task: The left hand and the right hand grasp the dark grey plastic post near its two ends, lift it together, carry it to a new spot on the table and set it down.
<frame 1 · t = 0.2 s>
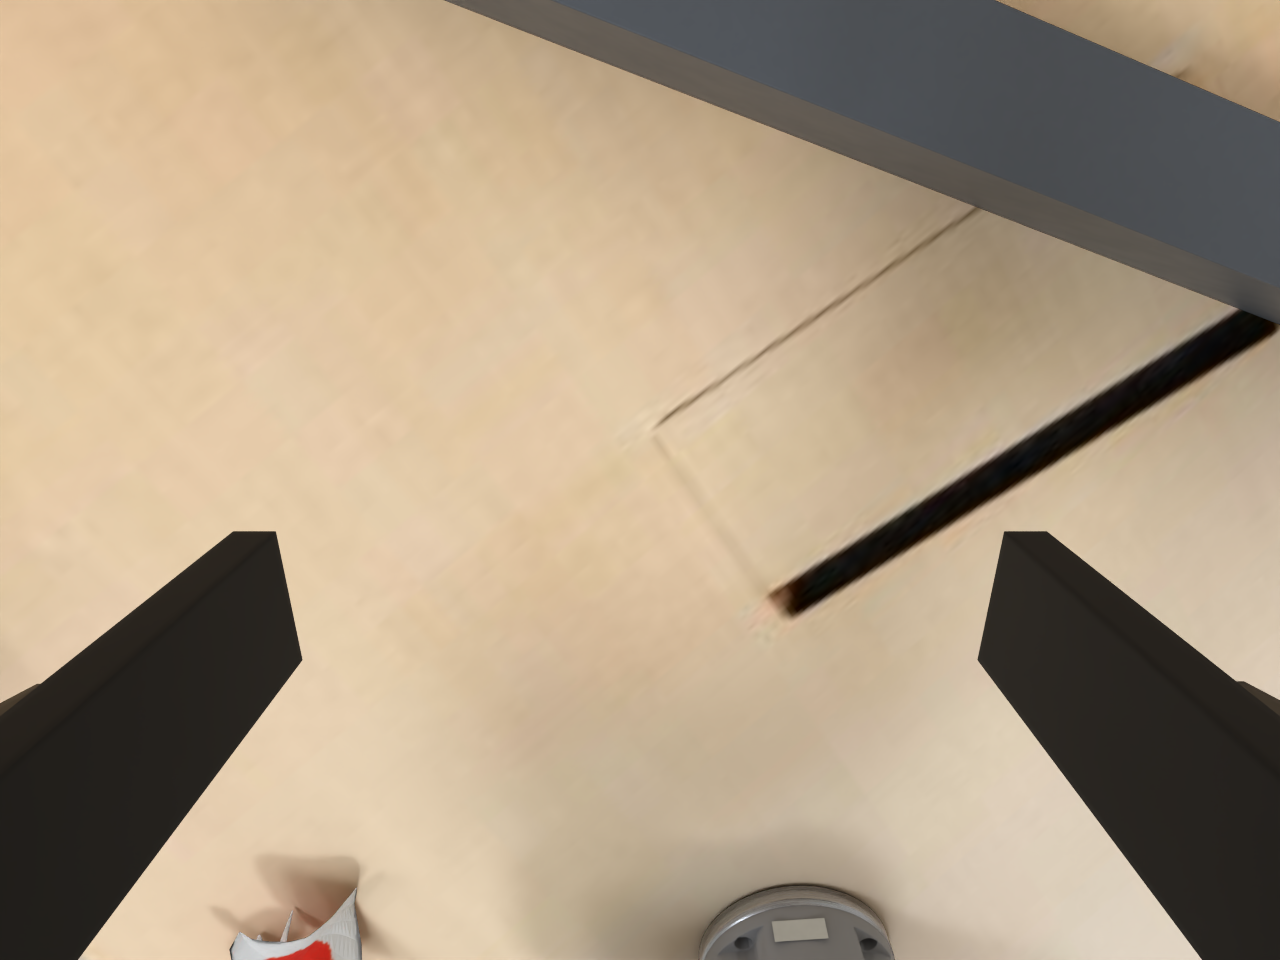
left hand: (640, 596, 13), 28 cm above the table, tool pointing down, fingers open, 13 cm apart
fish: (304, 920, 55), on the table
post: (987, 148, 35), on the table
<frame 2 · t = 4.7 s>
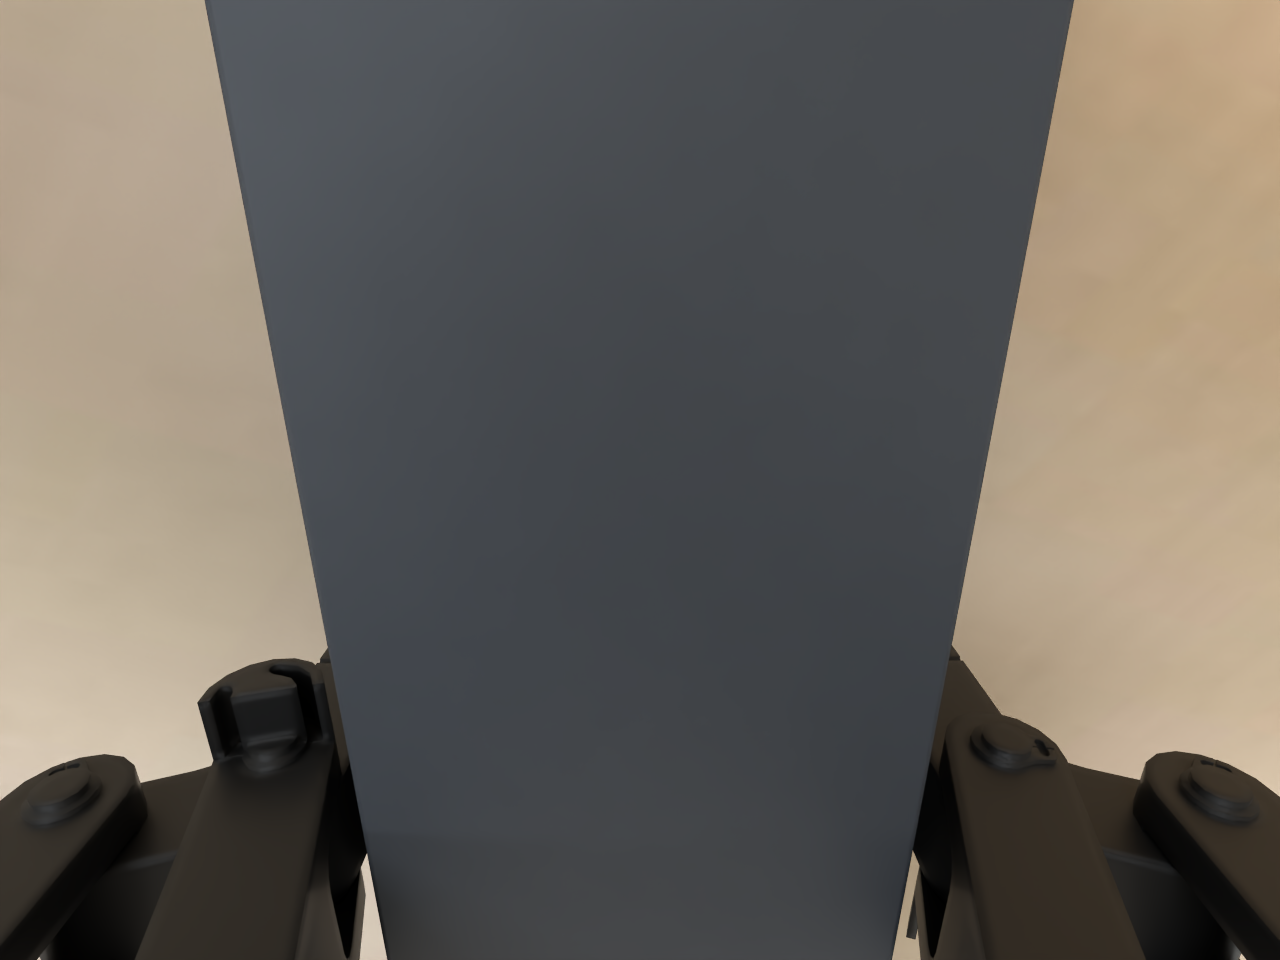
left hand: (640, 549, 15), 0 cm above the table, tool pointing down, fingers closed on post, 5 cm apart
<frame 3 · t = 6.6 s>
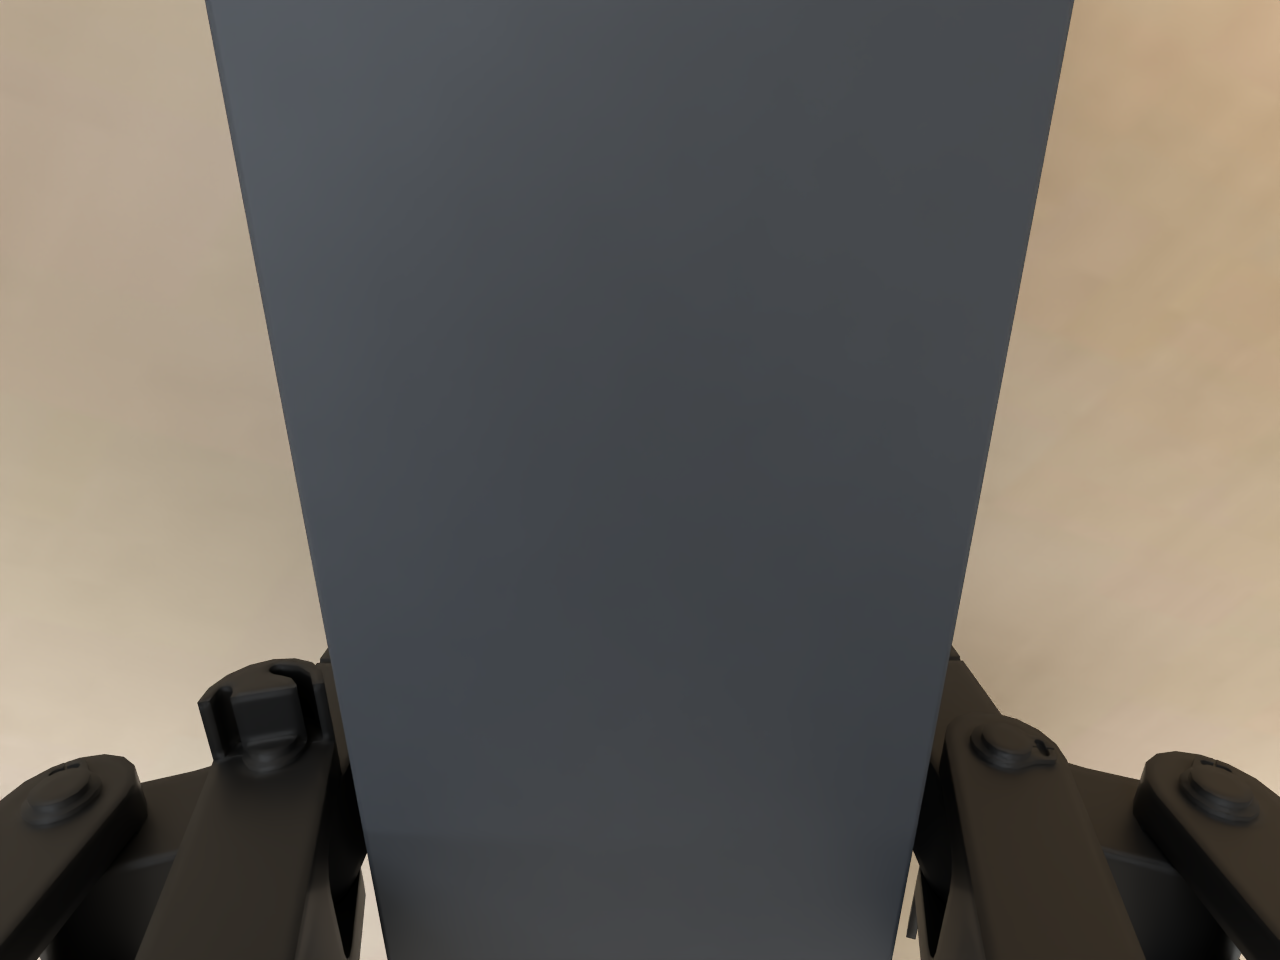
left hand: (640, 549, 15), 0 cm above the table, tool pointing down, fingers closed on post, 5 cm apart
when the left hand's fingers open (2 cm above the table, at t = 12.4 s): post drops 1 cm, on the table.
when the right hand's fingers open (5 cm above the table, at t = 12.6 s): post stays where it is, on the table.
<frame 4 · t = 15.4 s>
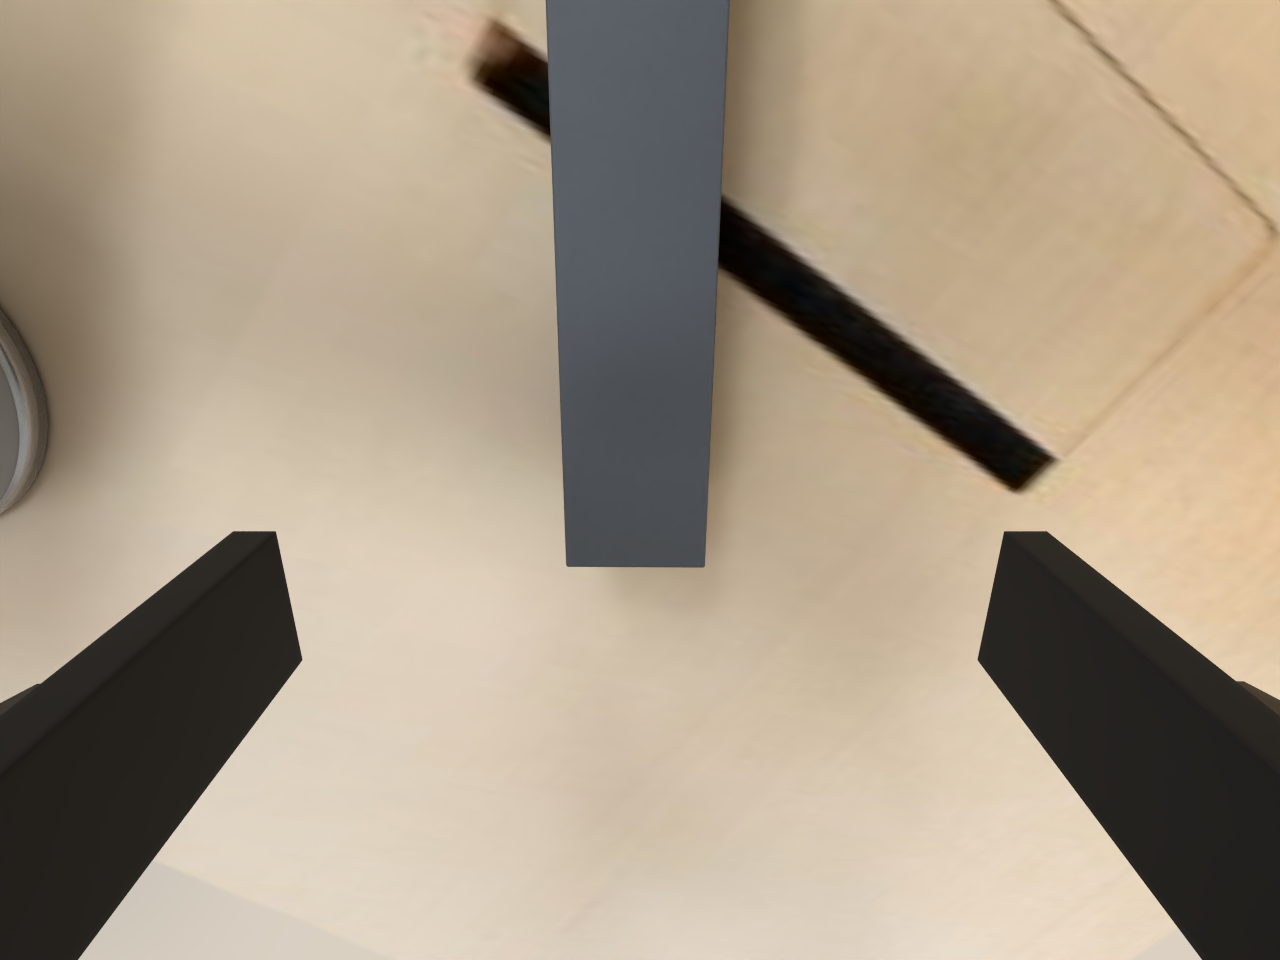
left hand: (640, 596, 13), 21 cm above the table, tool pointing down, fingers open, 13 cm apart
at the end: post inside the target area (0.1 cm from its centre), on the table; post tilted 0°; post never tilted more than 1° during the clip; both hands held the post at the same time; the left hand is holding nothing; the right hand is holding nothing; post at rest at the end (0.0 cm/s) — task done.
